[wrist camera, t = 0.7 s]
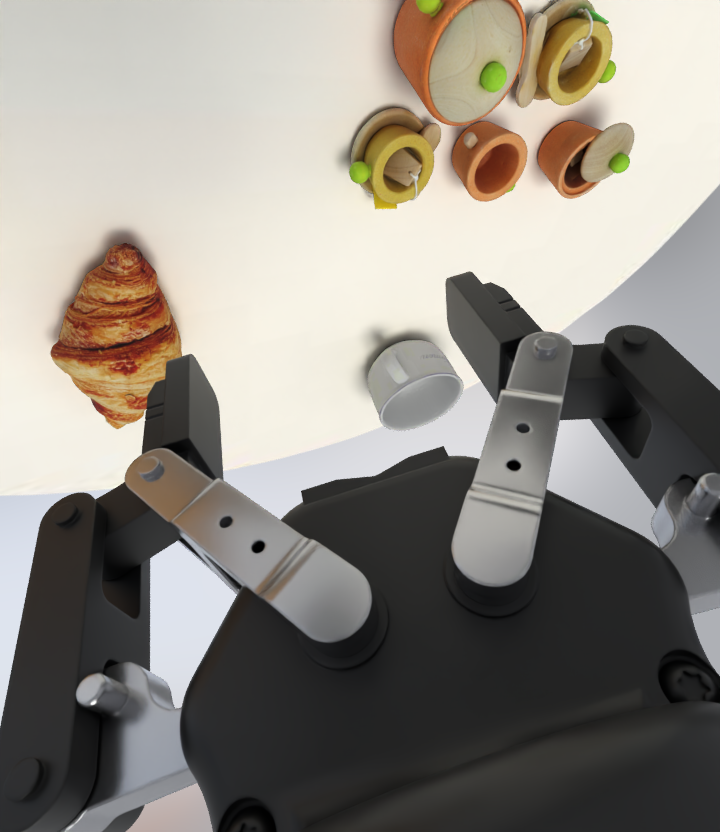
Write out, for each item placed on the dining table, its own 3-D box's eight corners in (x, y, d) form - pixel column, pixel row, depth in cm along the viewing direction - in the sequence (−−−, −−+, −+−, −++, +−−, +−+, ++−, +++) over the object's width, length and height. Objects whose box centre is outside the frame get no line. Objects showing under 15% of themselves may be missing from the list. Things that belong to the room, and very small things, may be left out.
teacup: (439, 363, 66) (468, 406, 61) (369, 400, 66) (393, 445, 62) (422, 295, 54) (455, 342, 50) (337, 339, 55) (363, 390, 50)
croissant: (144, 386, 54) (189, 433, 52) (51, 425, 47) (100, 480, 45) (153, 210, 39) (217, 267, 37) (19, 229, 32) (90, 299, 30)
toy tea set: (332, 196, 41) (376, 261, 35) (361, -55, 29) (433, -12, 24) (566, 187, 50) (628, 238, 45) (661, -6, 38) (761, 33, 33)
